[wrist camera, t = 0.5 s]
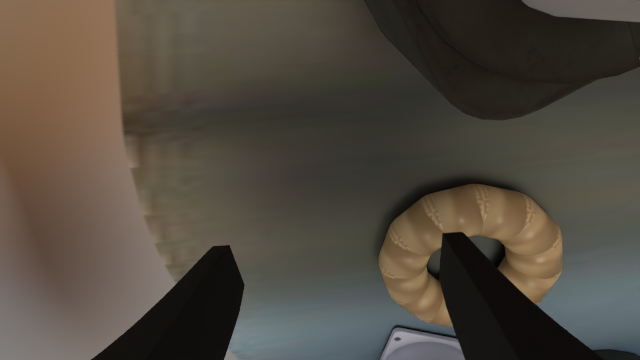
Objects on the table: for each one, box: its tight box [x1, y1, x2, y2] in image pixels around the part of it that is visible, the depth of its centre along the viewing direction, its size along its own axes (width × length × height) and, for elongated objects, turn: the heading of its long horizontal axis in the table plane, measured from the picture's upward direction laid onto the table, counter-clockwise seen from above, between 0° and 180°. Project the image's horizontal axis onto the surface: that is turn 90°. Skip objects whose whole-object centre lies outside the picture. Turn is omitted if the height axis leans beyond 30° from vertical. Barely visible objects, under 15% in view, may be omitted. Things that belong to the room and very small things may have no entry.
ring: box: [379, 184, 563, 327], centre depth 21 cm, size 11×11×3 cm
